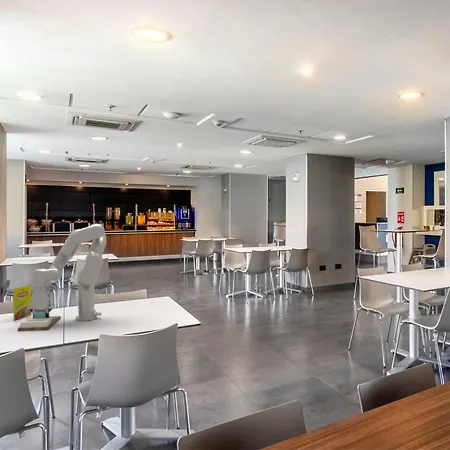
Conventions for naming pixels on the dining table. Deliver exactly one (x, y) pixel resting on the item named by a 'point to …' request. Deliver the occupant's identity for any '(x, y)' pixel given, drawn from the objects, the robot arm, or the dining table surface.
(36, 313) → the teal cube
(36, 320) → the white tray
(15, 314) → the food package
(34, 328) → the board
